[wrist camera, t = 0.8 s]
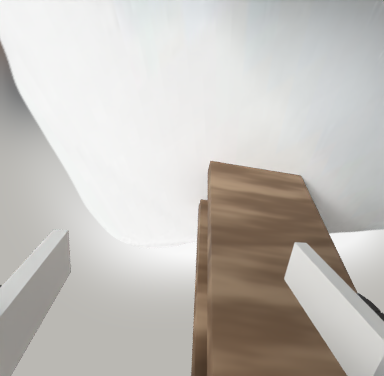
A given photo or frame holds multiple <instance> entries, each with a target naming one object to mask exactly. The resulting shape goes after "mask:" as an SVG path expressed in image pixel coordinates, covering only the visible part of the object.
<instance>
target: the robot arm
mask: <svg viewBox="0 0 384 376" xmlns="http://www.w3.org/2000/svg"><path fill="white" fill-rule="evenodd" d="M70 272H71V267H70V251H69V233H68V230H56V229H55V230H54V229H53V230H52V231H51V232H50V234H49V235H48V236H47V237H46V238H45V239H44V240H43V241H42V242H41V243H40V245H39V246H38V247H37V248H36V249H35V250H34V251H33V252H32V253H31V254H30V256H29V257H28V258H27V259H26V260H25V261H24V262H23V263H22V264H21V266H20V267H19V268H18V269H17V270H16V271H15V272H14V273H13V274H12V275H11V277H10V278H9V279H8V280H7V281H6V282H5V283H4V284H3V285H0V376H11V375H12V373H13V371H14V370H15V368H16V366H17V365H18V363H19V361H20V359H21V358H22V356H23V354H24V352H25V351H26V349H27V347H28V345H29V344H30V342H31V340H32V339H33V336H34V335H35V333H36V332H37V329H38V328H39V326H40V325H41V323H42V321H43V319H44V318H45V316H46V314H47V313H48V311H49V309H50V307H51V306H52V304H53V302H54V300H55V299H56V297H57V295H58V293H59V292H60V290H61V288H62V287H63V285H64V283H65V281H66V279H67V278H68V276H69V274H70ZM284 280H285V281H286V283H287V284H288V286H289V288H290V289H291V291H292V292H293V294H294V295H295V297H296V298H297V300H298V301H299V303H300V304H301V306H302V307H303V309H304V310H305V312H306V313H307V315H308V317H309V318H310V320H311V321H312V323H313V324H314V326H315V327H316V329H317V330H318V332H319V333H320V335H321V336H322V338H323V339H324V341H325V342H326V344H327V346H328V347H329V349H330V350H331V352H332V353H333V355H334V356H335V358H336V359H337V361H338V362H339V364H340V365H341V367H342V368H343V370H344V371H345V373H346V375H347V376H384V314H383V313H381V312H380V310H379V309H378V308H377V307H376V306H375V305H374V304H373V303H372V302H371V301H369V300H368V299H366V298H365V297H363V296H362V295H361V294H359V293H355V292H354V291H353V290H352V289H351V288H350V287H349V286H348V285H347V284H346V283H345V281H344V280H343V279H342V278H341V277H340V276H339V275H338V274H337V273H336V272H335V271H334V270H333V269H332V268H331V267H330V266H329V265H328V264H327V263H326V262H325V261H324V260H323V259H322V258H321V257H320V256H319V255H318V254H317V253H316V252H315V251H314V250H313V249H312V248H311V247H310V246H309V245H308V244H307V243H300V242H295V243H294V246H293V250H292V253H291V257H290V260H289V263H288V267H287V270H286V274H285V277H284Z"/></svg>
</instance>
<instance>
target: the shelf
mask: <svg viewBox="0 0 384 376" xmlns="http://www.w3.org/2000/svg"><path fill="white" fill-rule="evenodd" d="M295 242H300V243H307V244H308V245H309V246H310V247H311V248H312V249H313V250H314V251H315V252H316V253H317V254H318V255H319V256H320V257H321V258H322V259H323V260H324V261H325V262H326V263H327V264H328V265H329V266H330V267H331V268H332V269H333V270H334V271H335V272H336V273H337V274H338V275H339V276H340V277H341V278H342V279H343V280H344V281H345V283H346V284H347V285H348V286H349V287H350V288H351V289H352V290H353V291H354V292H355V293H357V291H356V289H355V287H354V285H353V283H352V281H351V279H350V276H349V274H348V272H347V270H346V268H345V266H344V264H343V262H342V260H341V258H340V256H339V254H338V252H337V250H336V247H335V245H334V243H333V241H332V239H331V237H330V235H329V233H328V231H327V229H326V227H325V225H324V223H323V220H322V218H321V216H320V214H319V212H318V210H317V208H316V206H315V204H314V202H313V200H312V198H311V196H310V194H309V191H308V189H307V187H306V185H305V183H304V181H303V179H302V177H301V176H300V175H294V174H287V173H281V172H275V171H269V170H263V169H257V168H251V167H245V166H239V165H232V164H226V163H220V162H214V161H210V165H209V169H208V200H200V204H199V212H198V234H197V258H196V280H195V281H196V282H195V303H194V326H193V327H194V329H193V349H192V372H191V376H347V375H346V373H345V371H344V370H343V368H342V367H341V365H340V364H339V362H338V361H337V359H336V358H335V356H334V355H333V353H332V352H331V350H330V349H329V347H328V346H327V344H326V342H325V341H324V339H323V338H322V336H321V335H320V333H319V332H318V330H317V329H316V327H315V326H314V324H313V323H312V321H311V320H310V318H309V317H308V315H307V313H306V312H305V310H304V309H303V307H302V306H301V304H300V303H299V301H298V300H297V298H296V297H295V295H294V294H293V292H292V291H291V289H290V288H289V286H288V284H287V283H286V281H285V280H284V277H285V274H286V270H287V267H288V263H289V260H290V257H291V253H292V250H293V246H294V243H295Z"/></svg>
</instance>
